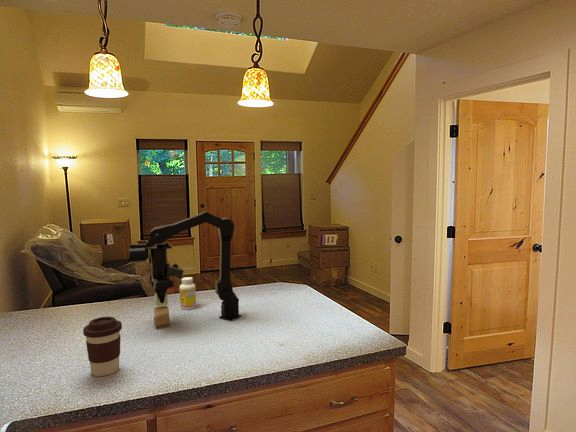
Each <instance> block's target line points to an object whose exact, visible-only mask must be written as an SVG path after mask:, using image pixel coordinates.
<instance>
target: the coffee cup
mask: <svg viewBox="0 0 576 432" xmlns="http://www.w3.org/2000/svg"><path fill="white" fill-rule="evenodd" d="M122 328H123V323H122V321H120V320H118V319H116V318H115V317H113V316H101V317H97V318H94V319H92V320H90V321H89V322H88V324H87V325H86V326H84V327H83V329H82V330H83V331H82V333H83V334H82V335H83V336H84V337H85V339H86V341H85V344H86V351H87V359H88V361H89V365H90V373H91V375H93V376H95V377H106V376H110V375H112V374H114V373H115V372H117V371H118V370H119V369H120V355H121V333H120V331H121V330H122Z"/></svg>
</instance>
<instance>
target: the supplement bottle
mask: <svg viewBox="0 0 576 432" xmlns="http://www.w3.org/2000/svg"><path fill="white" fill-rule="evenodd" d="M193 278H194V277H192V276H191V277H190V276H189V277H187V276H186V277H182V278H181V284H180V285H179V307H180V309H182V310H192V309H193V310H194V309H195V308H196V306H197V297H196V296H197V293H196V284H195V283H194V279H193Z"/></svg>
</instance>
